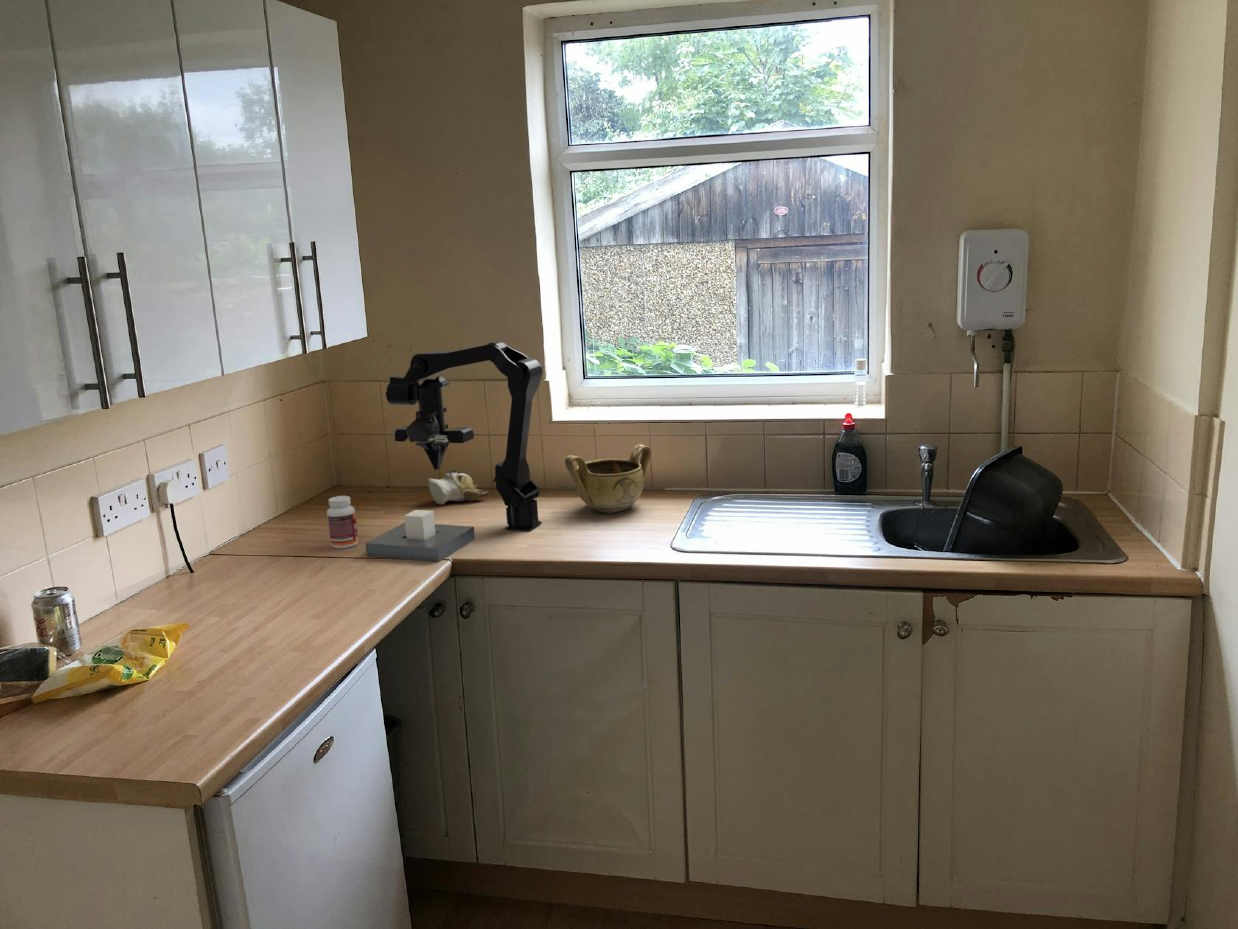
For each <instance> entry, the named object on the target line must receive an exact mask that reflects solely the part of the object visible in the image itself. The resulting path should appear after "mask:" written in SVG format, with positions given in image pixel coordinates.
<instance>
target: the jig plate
mask: <svg viewBox="0 0 1238 929" xmlns="http://www.w3.org/2000/svg"><path fill="white" fill-rule="evenodd" d="M475 539H476V536H475V526H473V525H472V526H471V525H455V524H441V523H439V524H438V523H435V535H433V536H432V537H430V538H428V539H426V540H419V539H407V538H406V528H405V522H403V523H402V524H399V525H397V526H395V527H394V528H391V529H390V530H388V531H385V532H384V533H382V534H380V535H378V536H376V537H374V538H373V539H371V540H368V541H367V542H365V551H366V557H370V558H371V557H372V558H383V559H395V558H396V559H397V560H410V561H421V562H433V561H434V562H435V561H436V563H440V562H441V561H442V560H444V559H445V558H448V557H449V556H451V555H452V554H454V553H455V552H457V551H459V550H460V549H462V548H463V547H466V545H468V544H469V543H471V542H473V541H475Z"/></svg>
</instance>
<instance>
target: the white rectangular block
mask: <svg viewBox="0 0 1238 929" xmlns="http://www.w3.org/2000/svg"><path fill="white" fill-rule="evenodd" d="M403 518H404V523H405V528H406V538H407V539H419V540H426V539H428V538H430V537H432V536H433V535H435V524H436V523H435V516H434V510H425V509H421V510H420V509H415V510H413V511H411V512H409V513H406V514H404V515H403Z"/></svg>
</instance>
